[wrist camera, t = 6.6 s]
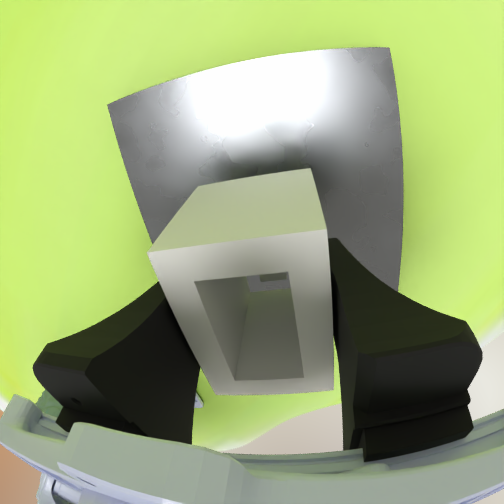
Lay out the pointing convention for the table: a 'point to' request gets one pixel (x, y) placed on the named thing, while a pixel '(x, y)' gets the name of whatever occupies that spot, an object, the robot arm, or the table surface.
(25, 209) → the table surface
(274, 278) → the duct plate
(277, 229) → the duct sleeve
